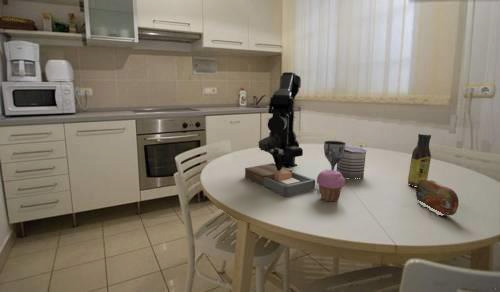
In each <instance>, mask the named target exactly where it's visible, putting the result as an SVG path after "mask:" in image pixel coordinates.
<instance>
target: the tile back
mask: <svg viewBox="0 0 500 292" xmlns="http://www.w3.org/2000/svg"><path fill="white" fill-rule="evenodd" d="M292 172H293V171H292ZM292 172H289V171H284V172H278V173H275V176H274V181H276V182H278V183H279V180H283V179H288V178H292Z"/></svg>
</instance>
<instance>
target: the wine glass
mask: <svg viewBox="0 0 500 292" xmlns="http://www.w3.org/2000/svg"><path fill="white" fill-rule="evenodd" d="M346 145H347V143H346V142H344V141H341V140H340V141H339V140H325V141H324V143H323V152H324V153H323V154H324V157H325V158H326V160H327V161H328V163H329V164H330V168H331V169H330V170H335V167H336V166H337V163H338V162H339V161H340V160H341V159H342V157H343V155H344V152H345V146H346Z"/></svg>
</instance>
